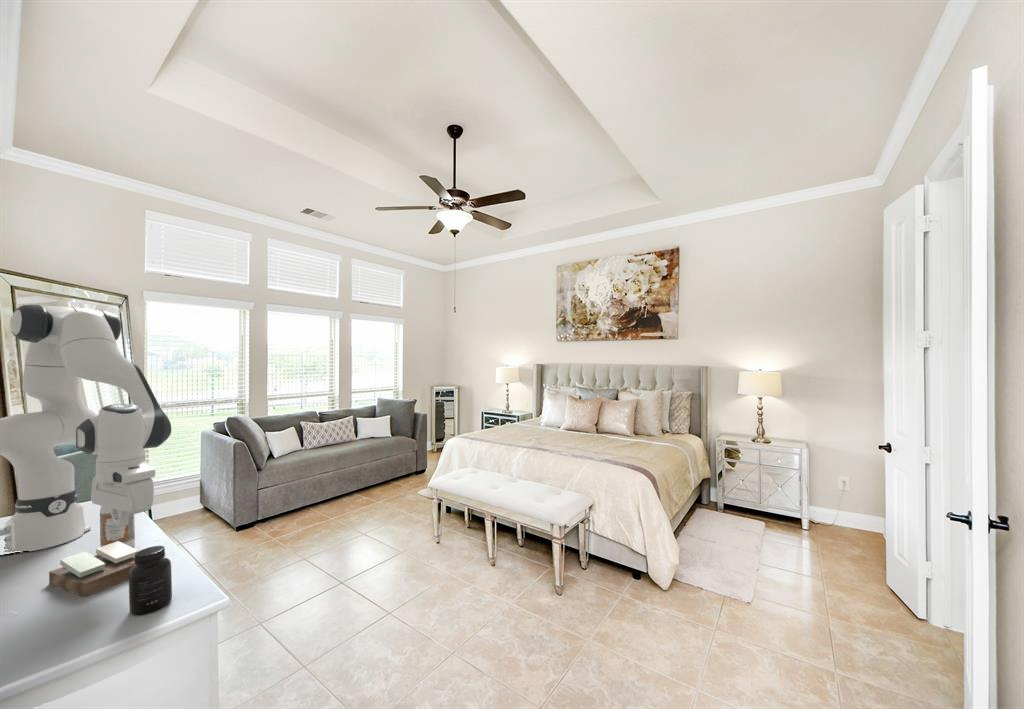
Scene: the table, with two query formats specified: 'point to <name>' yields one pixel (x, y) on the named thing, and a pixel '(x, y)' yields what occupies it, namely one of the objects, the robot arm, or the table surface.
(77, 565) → the block
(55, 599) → the table surface
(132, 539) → the bath foam
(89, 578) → the switch plate
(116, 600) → the table surface
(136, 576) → the supplement bottle
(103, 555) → the block
